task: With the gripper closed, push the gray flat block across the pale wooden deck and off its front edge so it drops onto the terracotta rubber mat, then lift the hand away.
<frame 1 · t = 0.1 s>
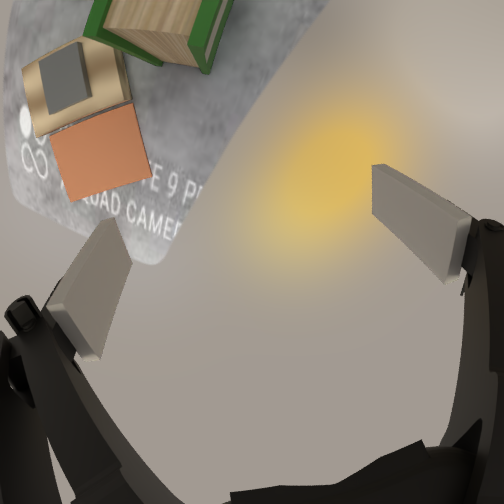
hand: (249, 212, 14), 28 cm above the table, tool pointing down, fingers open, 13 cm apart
mat: (98, 154, 37), on the table
hardback book: (200, 12, 29), on the table
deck: (79, 81, 31), on the table
gray flat block: (66, 78, 27), point 4 cm above the table, touching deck
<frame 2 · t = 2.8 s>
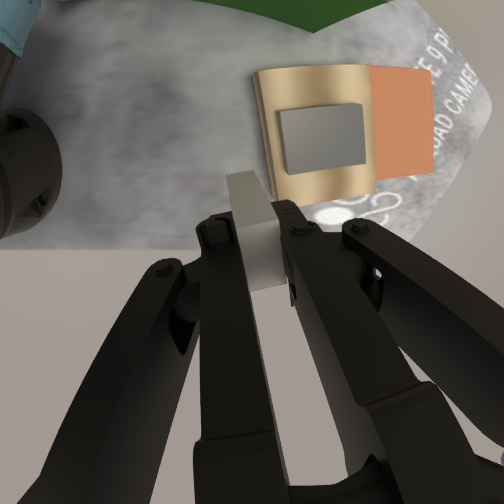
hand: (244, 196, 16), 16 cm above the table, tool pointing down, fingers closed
mat: (399, 122, 30), on the table
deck: (312, 129, 30), on the table
gray flat block: (320, 135, 27), point 4 cm above the table, touching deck
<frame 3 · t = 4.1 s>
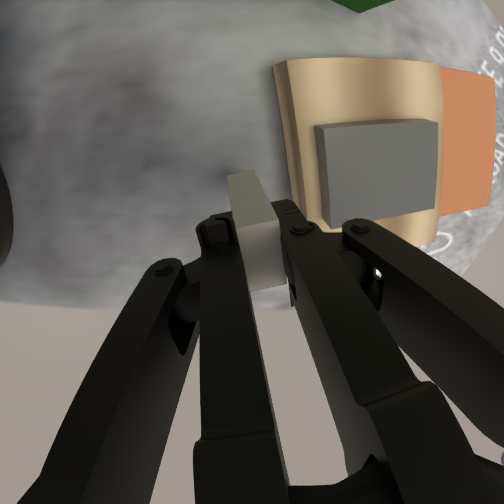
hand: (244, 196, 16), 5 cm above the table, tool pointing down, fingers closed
mat: (460, 143, 21), on the table
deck: (356, 151, 21), on the table
gray flat block: (376, 165, 17), point 4 cm above the table, touching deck
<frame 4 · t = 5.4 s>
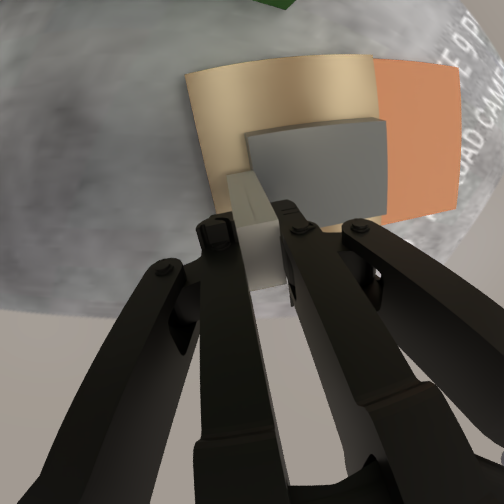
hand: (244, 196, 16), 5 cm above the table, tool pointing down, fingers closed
mat: (416, 142, 21), on the table
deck: (286, 157, 21), on the table
gray flat block: (317, 170, 17), point 4 cm above the table, touching gripper
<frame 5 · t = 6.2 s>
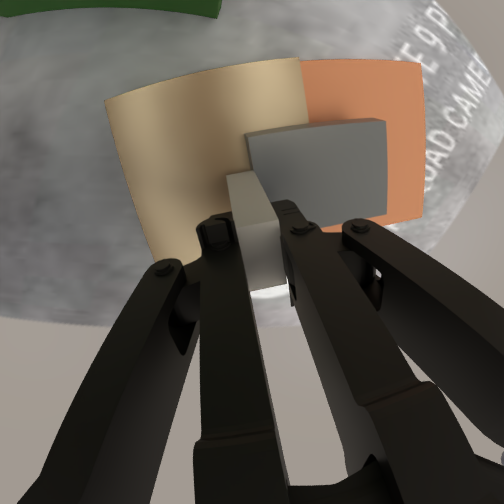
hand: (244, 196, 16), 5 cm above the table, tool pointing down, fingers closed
mat: (369, 147, 21), on the table
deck: (221, 171, 21), on the table
gray flat block: (317, 171, 17), point 4 cm above the table, touching gripper
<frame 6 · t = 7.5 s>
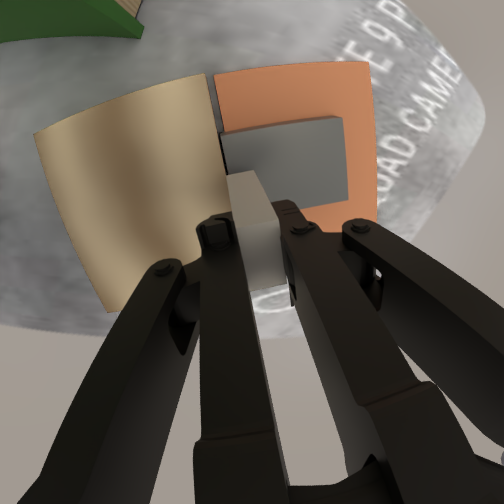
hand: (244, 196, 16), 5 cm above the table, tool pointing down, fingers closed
mat: (307, 158, 21), on the table
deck: (151, 190, 20), on the table
gray flat block: (284, 163, 20), resting on mat
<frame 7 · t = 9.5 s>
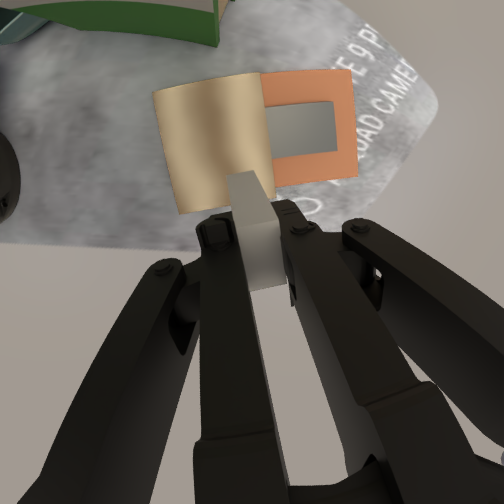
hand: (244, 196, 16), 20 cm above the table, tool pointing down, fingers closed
mat: (312, 126, 33), on the table
flower pot: (44, 10, 20), on the table
hardback book: (154, 8, 24), on the table
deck: (216, 139, 33), on the table
gray flat block: (299, 127, 33), resting on mat
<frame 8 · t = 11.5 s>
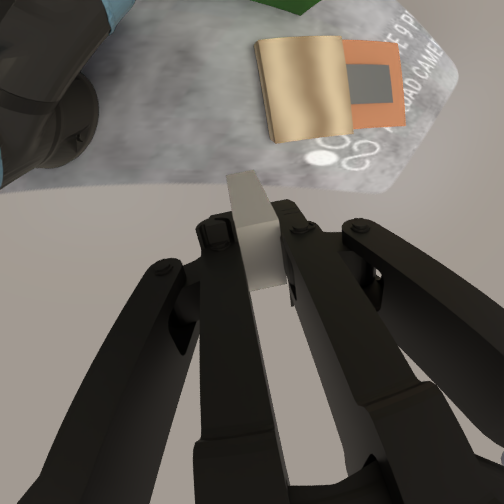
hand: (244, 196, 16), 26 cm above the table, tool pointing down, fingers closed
mat: (372, 83, 37), on the table
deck: (300, 86, 36), on the table
gray flat block: (363, 83, 36), resting on mat
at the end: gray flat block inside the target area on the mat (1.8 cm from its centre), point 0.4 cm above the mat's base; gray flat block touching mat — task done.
